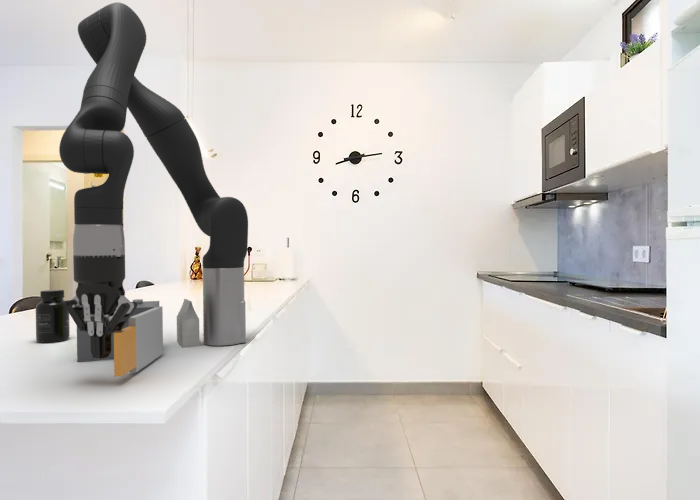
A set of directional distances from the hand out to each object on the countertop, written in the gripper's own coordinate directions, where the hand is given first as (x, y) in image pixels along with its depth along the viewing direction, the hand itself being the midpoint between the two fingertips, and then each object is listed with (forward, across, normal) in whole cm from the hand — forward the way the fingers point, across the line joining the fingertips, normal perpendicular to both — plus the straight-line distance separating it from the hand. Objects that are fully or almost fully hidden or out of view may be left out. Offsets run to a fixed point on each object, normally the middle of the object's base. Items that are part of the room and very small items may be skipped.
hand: (101, 357), depth 78 cm
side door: (+4, +1, +9) cm, 9 cm away
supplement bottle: (+5, -38, +26) cm, 46 cm away
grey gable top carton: (+5, -4, +29) cm, 30 cm away
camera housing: (+4, -12, +18) cm, 22 cm away
